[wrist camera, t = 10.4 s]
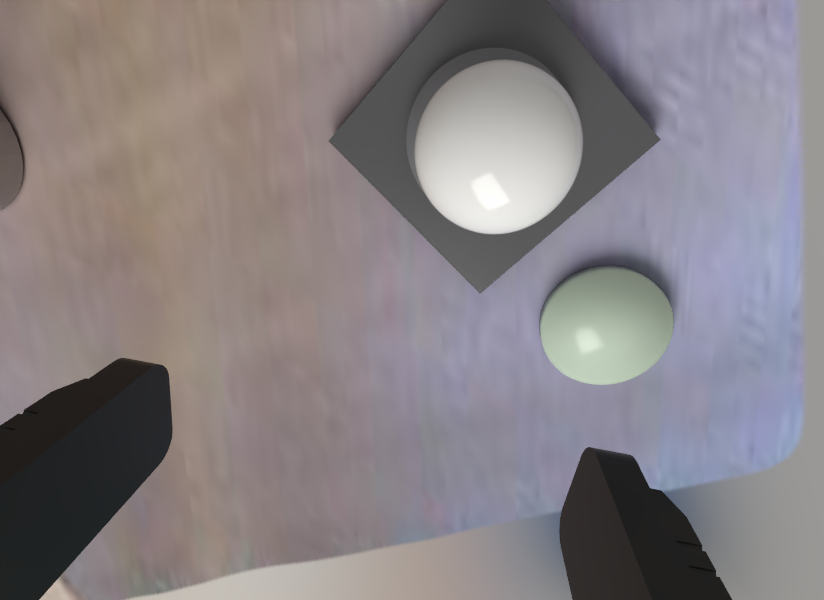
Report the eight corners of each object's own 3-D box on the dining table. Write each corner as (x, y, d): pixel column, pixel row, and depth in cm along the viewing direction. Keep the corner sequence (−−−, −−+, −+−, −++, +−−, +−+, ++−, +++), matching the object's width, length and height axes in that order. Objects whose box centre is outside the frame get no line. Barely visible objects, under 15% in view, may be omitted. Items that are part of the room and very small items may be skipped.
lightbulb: (490, 49, 23) (502, -4, 13) (575, 137, 24) (647, 151, 14) (408, 146, 26) (365, 165, 16) (489, 223, 27) (498, 288, 17)
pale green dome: (516, 306, 30) (517, 312, 30) (631, 241, 28) (637, 245, 27) (575, 395, 32) (579, 403, 31) (688, 341, 30) (695, 348, 29)
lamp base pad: (334, 140, 28) (324, 141, 26) (496, -51, 24) (498, -66, 22) (479, 287, 30) (480, 298, 28) (652, 138, 26) (666, 140, 24)
